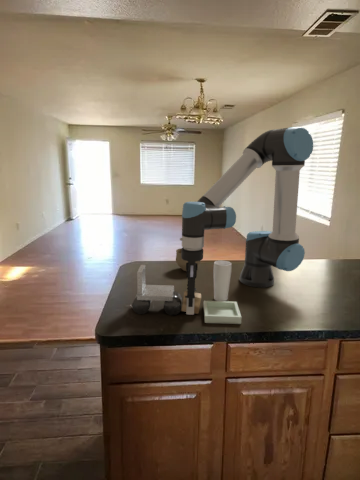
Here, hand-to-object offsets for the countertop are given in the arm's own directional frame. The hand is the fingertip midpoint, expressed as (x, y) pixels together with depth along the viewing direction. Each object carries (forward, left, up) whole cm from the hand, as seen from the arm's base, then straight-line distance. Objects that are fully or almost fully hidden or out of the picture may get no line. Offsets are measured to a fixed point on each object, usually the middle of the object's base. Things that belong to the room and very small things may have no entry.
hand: (190, 311), depth 112 cm
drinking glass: (-12, -11, 0) cm, 16 cm away
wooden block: (0, 0, 0) cm, 0 cm away
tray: (-11, +2, 0) cm, 11 cm away
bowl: (+1, -45, 0) cm, 45 cm away
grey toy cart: (+12, 0, 0) cm, 12 cm away
